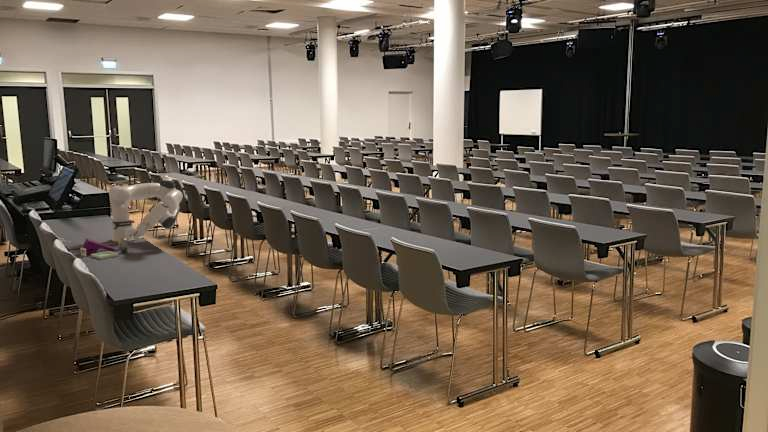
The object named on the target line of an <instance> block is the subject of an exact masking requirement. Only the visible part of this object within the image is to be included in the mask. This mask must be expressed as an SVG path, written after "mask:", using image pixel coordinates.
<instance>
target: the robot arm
mask: <svg viewBox="0 0 768 432" xmlns="http://www.w3.org/2000/svg"><path fill="white" fill-rule="evenodd" d="M176 186H177V185H176V183H175V180H174V179H173V178H171V177H162V178H161V179H160V180H159V182H145V183H136V184H135V183H134V184H132V185H127V186H125V185H124V186H122V185H119V184H118V185H113V186H111V187H110V188H109V190H108V195H109V201H110V206H111V213H112V221H111V222H112V223H111V224H112V237H111V238H112V239H111V241H112V242H119V238H126V239H127V242H132V240H133V241H136V240H141V239H142V240H143V239H145V238H146V237H145V235H146V234H147V232H148V231H149V230H150V229H153V228H155V226H156V225H157V224H160V226H162V227H163V228H164V229H171V228H172V227H173V226H174V225H175V224H176V221H177V219H178V215H179V213H180V210H181V208H180V203H181V202H182V200H183V198H184V196H183V192H182V191H181V190H179V189H177V188H176ZM151 198H158V199H157V201H158V202H157V203H155V204H152V206H151V207H150V208H149V209H148V213H146V215H144V217H143V218H141V220H140V223H139V224H138V225H137V227H136V226H135V225H133V224H135V220H132V219H130V210H129V207H128V202H132V201H135V200H142V199H143V200H144V199H151Z"/></svg>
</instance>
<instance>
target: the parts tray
mask: <svg viewBox="0 0 768 432" xmlns="http://www.w3.org/2000/svg"><path fill="white" fill-rule="evenodd" d="M119 255H120V254H119V253H117V252H112V251H108V250H105V251H101V252H100V251H99V252H97V253H94V254H91V255H90V258H93V259H97V260H100V261H101V260H105V259H110V258H116V257H119Z"/></svg>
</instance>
